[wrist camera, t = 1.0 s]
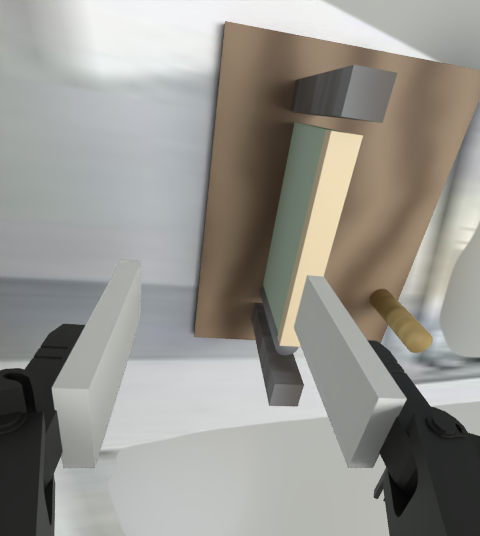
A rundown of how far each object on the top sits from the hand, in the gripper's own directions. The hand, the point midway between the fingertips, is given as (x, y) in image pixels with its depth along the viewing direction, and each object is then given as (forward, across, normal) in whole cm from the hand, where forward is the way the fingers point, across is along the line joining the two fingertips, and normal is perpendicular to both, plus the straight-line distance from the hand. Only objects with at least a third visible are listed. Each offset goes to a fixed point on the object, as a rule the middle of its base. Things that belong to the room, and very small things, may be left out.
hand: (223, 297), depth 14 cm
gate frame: (+20, +11, -2) cm, 23 cm away
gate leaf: (+19, +7, -2) cm, 20 cm away
